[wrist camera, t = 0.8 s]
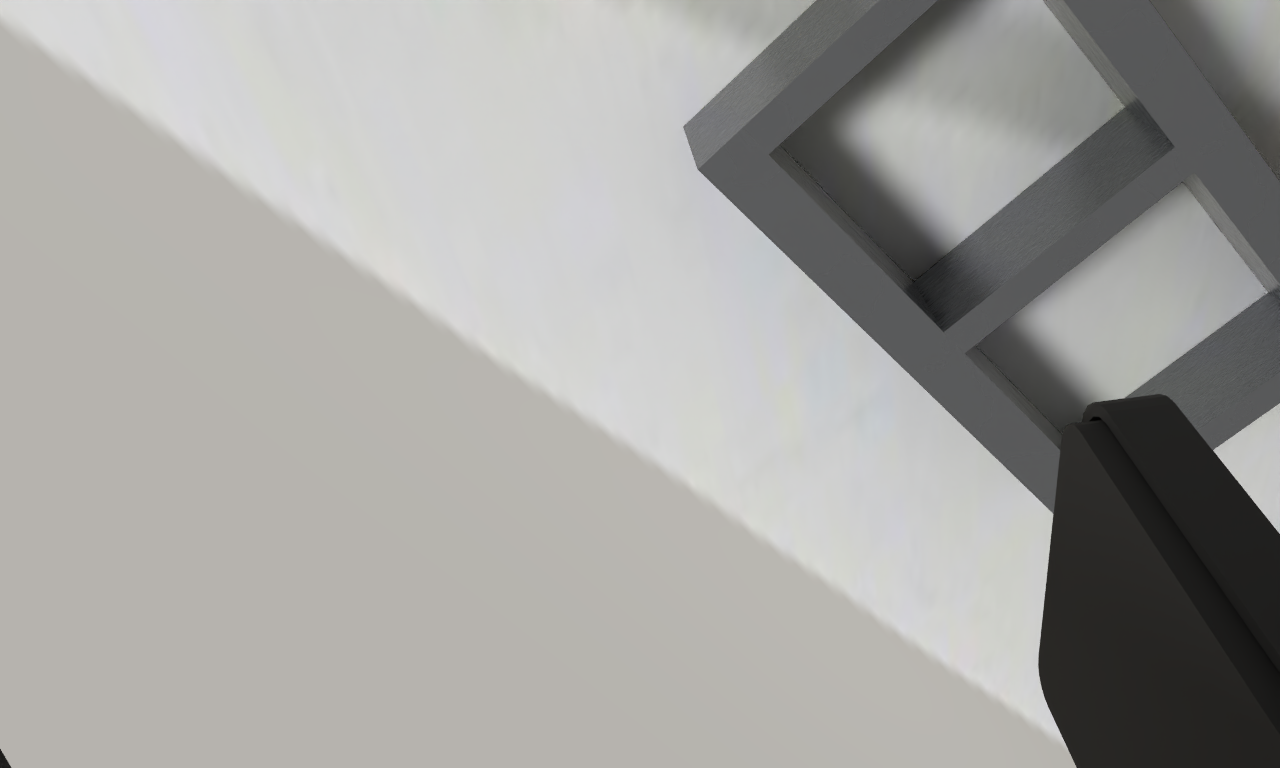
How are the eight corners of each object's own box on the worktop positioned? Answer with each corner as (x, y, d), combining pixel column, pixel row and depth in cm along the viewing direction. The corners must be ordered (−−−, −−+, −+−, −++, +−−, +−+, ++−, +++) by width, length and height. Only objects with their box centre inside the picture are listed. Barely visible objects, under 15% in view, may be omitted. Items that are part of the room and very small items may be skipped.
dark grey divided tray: (683, 127, 33) (697, 169, 31) (996, -171, 30) (1041, -150, 27) (1047, 484, 41) (1082, 541, 38) (1326, 280, 38) (1385, 329, 35)
